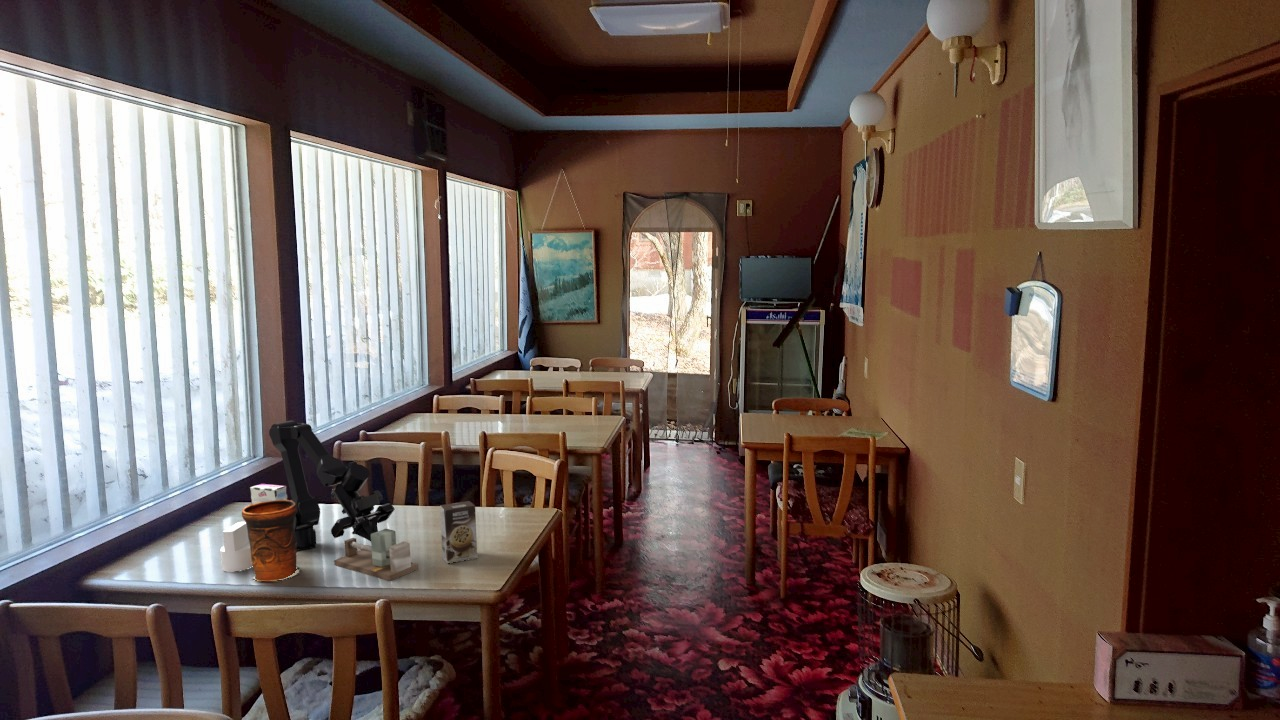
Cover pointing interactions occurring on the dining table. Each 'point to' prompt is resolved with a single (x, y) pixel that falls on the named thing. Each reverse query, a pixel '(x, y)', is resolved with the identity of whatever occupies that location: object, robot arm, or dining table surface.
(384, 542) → the sleeve
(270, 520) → the vessel
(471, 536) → the coffee box
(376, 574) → the rod stand
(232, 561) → the base with upright slab
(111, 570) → the dining table surface
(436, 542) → the dining table surface
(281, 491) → the candy bar box
